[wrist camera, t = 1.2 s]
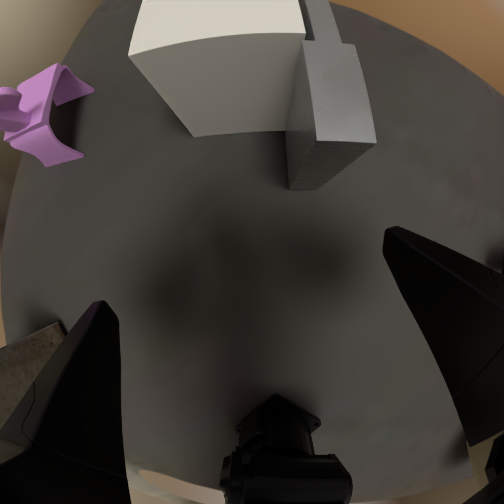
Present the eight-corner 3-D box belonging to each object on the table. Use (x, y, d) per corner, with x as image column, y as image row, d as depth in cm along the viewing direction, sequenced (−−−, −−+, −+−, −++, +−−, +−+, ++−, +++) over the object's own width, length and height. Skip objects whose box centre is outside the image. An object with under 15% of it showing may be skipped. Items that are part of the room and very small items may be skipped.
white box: (288, 130, 21) (309, 33, 8) (194, 137, 22) (127, 56, 9) (277, 37, 21) (281, -60, 8) (197, 44, 21) (160, -45, 8)
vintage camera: (13, 342, 26) (-78, 391, 6) (62, 314, 24) (-76, 385, 4) (44, 399, 26) (-33, 464, 7) (103, 389, 25) (1, 496, 5)
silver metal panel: (318, 189, 21) (376, 143, 9) (288, 189, 21) (316, 140, 9) (299, 42, 20) (314, -51, 8) (275, 42, 20) (277, -53, 8)
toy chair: (103, 83, 22) (20, 16, 7) (91, 155, 22) (-23, 113, 8) (52, 102, 22) (-29, 60, 7) (41, 169, 23) (-59, 147, 8)
